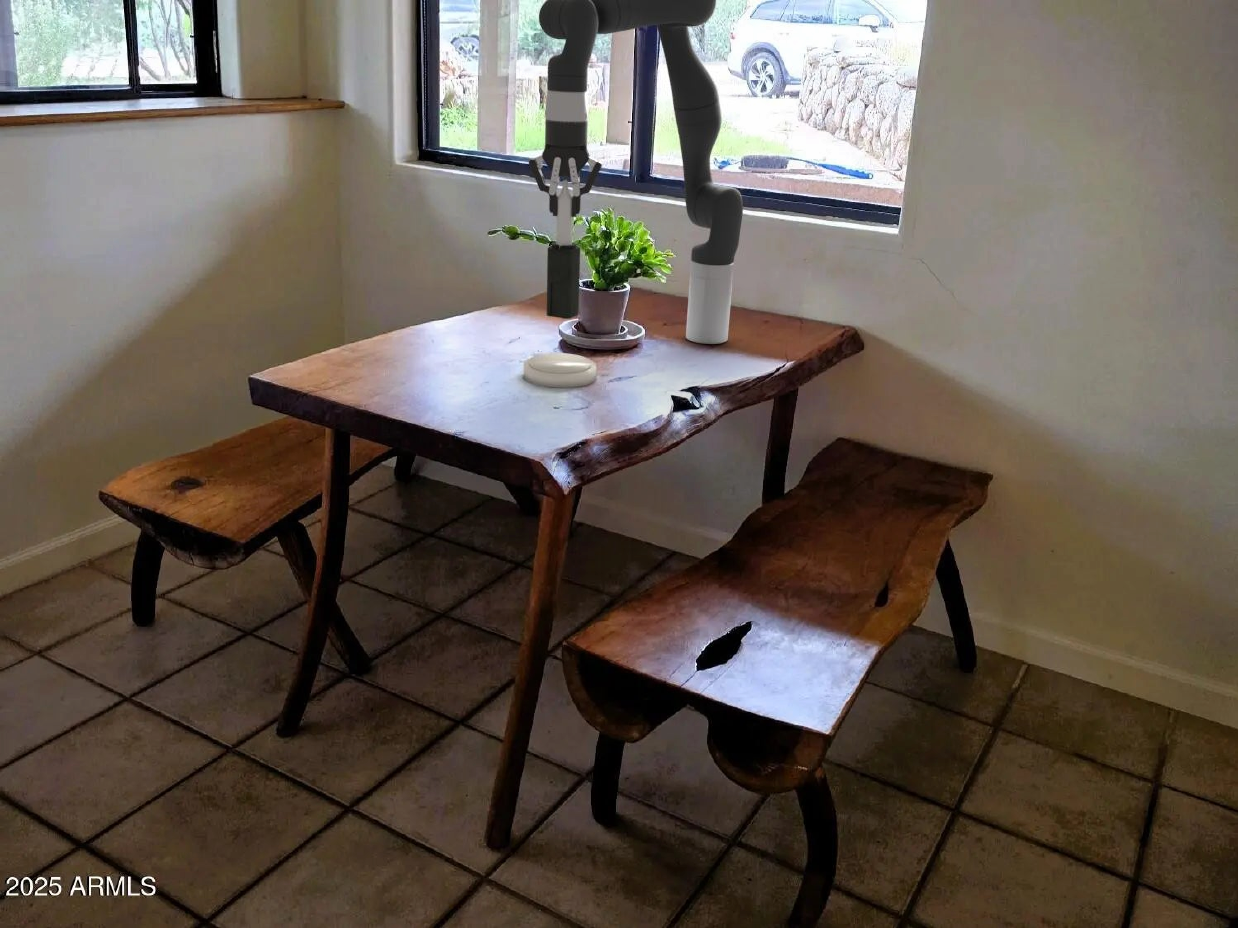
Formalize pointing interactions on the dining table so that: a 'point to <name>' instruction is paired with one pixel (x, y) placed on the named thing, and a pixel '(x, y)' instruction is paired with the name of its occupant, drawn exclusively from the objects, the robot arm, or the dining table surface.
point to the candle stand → (559, 370)
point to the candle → (563, 263)
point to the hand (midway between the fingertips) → (564, 215)
